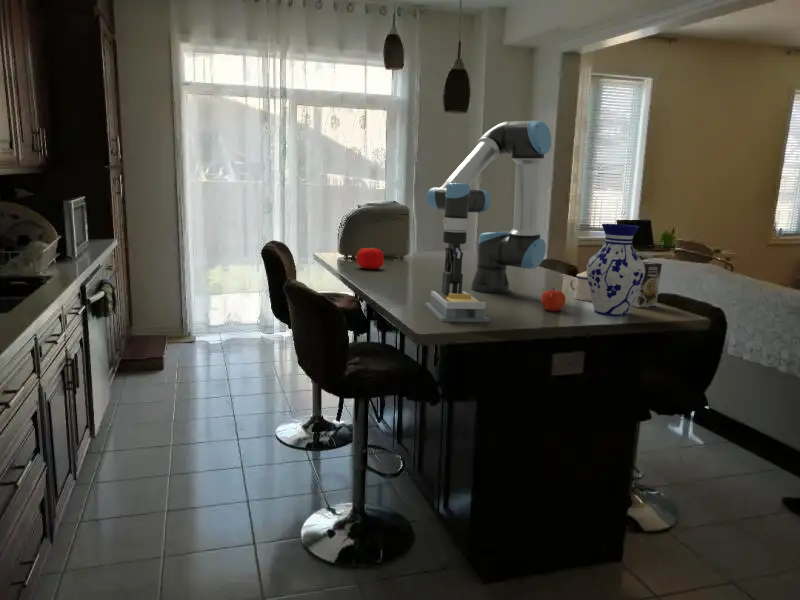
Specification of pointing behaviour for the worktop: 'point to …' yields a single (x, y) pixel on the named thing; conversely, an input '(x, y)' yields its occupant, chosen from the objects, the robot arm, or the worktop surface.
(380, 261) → the tomato
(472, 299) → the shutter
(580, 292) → the teacup with lid
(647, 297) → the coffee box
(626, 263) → the vase
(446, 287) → the plug
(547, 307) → the apple
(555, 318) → the worktop surface
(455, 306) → the socket
